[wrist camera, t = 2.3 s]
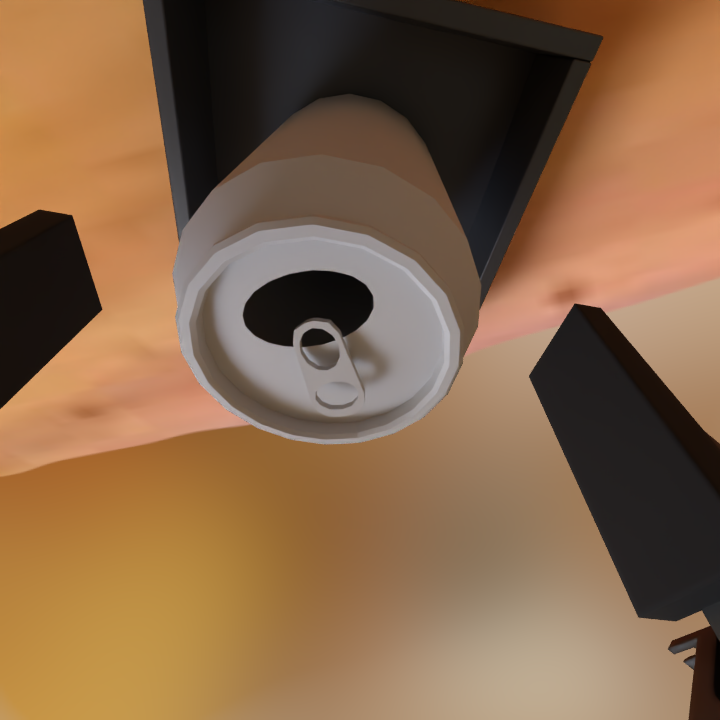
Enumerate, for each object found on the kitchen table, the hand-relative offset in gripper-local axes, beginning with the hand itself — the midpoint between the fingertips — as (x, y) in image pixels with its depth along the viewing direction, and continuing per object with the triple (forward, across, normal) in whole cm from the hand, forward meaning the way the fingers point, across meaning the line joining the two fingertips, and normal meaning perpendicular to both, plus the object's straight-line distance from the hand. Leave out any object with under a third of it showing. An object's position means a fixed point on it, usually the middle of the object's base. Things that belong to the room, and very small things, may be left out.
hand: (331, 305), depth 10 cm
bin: (+10, 0, 0) cm, 10 cm away
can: (+9, 0, 0) cm, 9 cm away
